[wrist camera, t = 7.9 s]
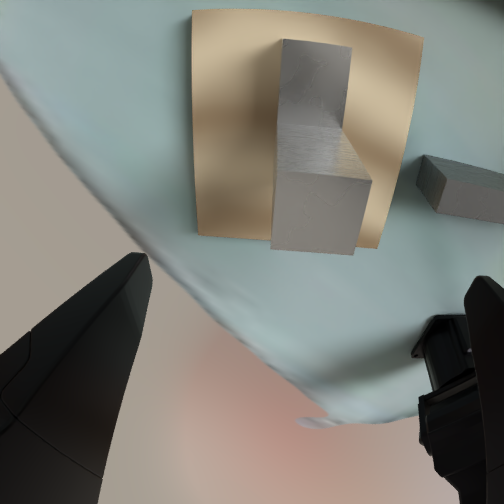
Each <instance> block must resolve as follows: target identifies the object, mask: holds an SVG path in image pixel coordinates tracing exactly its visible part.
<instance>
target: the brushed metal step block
mask: <svg viewBox="0 0 504 504" xmlns="http://www.w3.org/2000/svg"><path fill="white" fill-rule="evenodd" d="M351 55H352V47H346V46H340V45H334V44H327V43H320V42H312V41H303V40H293V39H282V46H281V62H280V78H279V93H278V107H277V122H276V136H275V149H274V164H273V195H272V224H271V249H275V250H288V251H301V252H315V253H328V254H341V255H353V254H354V251H355V247H356V244H357V240H358V236H359V233H360V229H361V225H362V221H363V217H364V214H365V210H366V206H367V202H368V197H369V193H370V189H371V185H372V181H373V180H372V179H371V177H370V175H369V173H368V172H367V170H366V168H365V167H364V165H363V163H362V161H361V160H360V158H359V156H358V155H357V153H356V151H355V150H354V148H353V147H352V145H351V143H350V142H349V140H348V138H347V137H346V135H345V134H344V132H343V131H342V126H343V119H344V112H345V105H346V97H347V90H348V82H349V73H350V64H351Z"/></svg>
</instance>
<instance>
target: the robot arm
mask: <svg viewBox="0 0 504 504" xmlns="http://www.w3.org/2000/svg"><path fill="white" fill-rule="evenodd" d="M152 281H153V280H152V274H151V269H150V265H149V260H148V256H147V255H146V254H145V253H137V252H131V253H129V254H128V255H126V256H125V257H123V258H122V259H121V260H119V261H118V262H117V263H115V264H114V265H113V266H111V267H110V268H109V269H107V270H106V271H105V272H103V273H102V274H100V275H99V276H98V277H97V278H95V279H94V280H93V281H91V282H90V283H89V284H87V285H86V286H85V287H83V288H82V289H81V290H79V291H78V292H77V293H76V294H74V295H73V296H72V297H71V298H69V299H68V300H67V301H65V302H64V303H63V304H62V305H60V306H59V307H58V308H57V309H55V310H54V311H53V312H52V313H50V314H49V315H48V316H47V317H46V318H44V319H43V320H42V321H41V322H39V323H38V324H37V325H36V326H34V327H33V328H32V329H31V331H29V332H27V333H26V334H25V335H24V336H22V337H21V338H20V339H19V340H18V341H17V342H15V343H14V344H13V345H12V346H10V347H9V348H8V349H7V350H6V351H4V352H3V353H2V354H0V504H97V503H98V498H99V494H100V488H101V484H102V480H103V479H102V478H103V475H104V470H105V466H106V461H107V457H108V453H109V449H110V445H111V441H112V437H113V433H114V429H115V425H116V421H117V418H118V414H119V410H120V407H121V403H122V400H123V396H124V392H125V389H126V385H127V382H128V379H129V375H130V372H131V369H132V365H133V362H134V359H135V355H136V353H137V349H138V346H139V343H140V340H141V336H142V331H143V327H144V322H145V317H146V312H147V307H148V302H149V298H150V293H151V289H152ZM464 307H465V313H466V315H438V316H435V317H434V318H433V319H432V321H431V322H430V324H429V326H428V327H427V329H426V331H425V332H424V334H423V335H422V337H421V339H420V340H419V342H418V343H417V345H416V346H415V348H414V349H413V351H412V352H411V357H412V358H424V360H425V364H426V367H427V371H428V375H429V378H430V382H431V386H432V390H433V392H431V393H428V394H426V395H422V396H419V404H418V410H419V422H420V432H419V443H420V444H421V445H423V446H424V447H425V449H426V451H427V453H428V454H429V456H432V457H433V461H434V469H435V471H436V472H437V473H438V474H439V475H440V476H441V477H444V478H445V479H446V480H447V481H448V482H449V483H450V484H451V485H452V486H453V487H454V488H455V489H456V490H457V491H458V494H459V500H460V504H504V288H502V287H501V286H500V285H499V284H498V283H497V282H495V281H494V280H493V279H492V278H490V277H489V276H477V277H476V278H475V279H474V281H473V282H472V284H471V286H470V288H469V289H468V291H467V293H466V295H465V297H464Z"/></svg>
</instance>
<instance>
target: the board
mask: <svg viewBox="0 0 504 504" xmlns="http://www.w3.org/2000/svg"><path fill="white" fill-rule="evenodd" d="M282 39H293V40H303V41H312V42H320V43H327V44H334V45H340V46H346V47H352V55H351V64H350V73H349V82H348V90H347V97H346V105H345V112H344V119H343V126H342V131H343V132H344V134H345V135H346V137H347V138H348V140H349V142H350V143H351V145H352V147H353V148H354V150H355V151H356V153H357V155H358V156H359V158H360V160H361V161H362V163H363V165H364V167H365V168H366V170H367V172H368V173H369V175H370V177H371V179H372V180H373V181H372V185H371V189H370V193H369V197H368V202H367V206H366V210H365V214H364V217H363V221H362V225H361V229H360V233H359V236H358V240H357V244H356V247H362V248H374V249H377V247H378V244H379V241H380V238H381V235H382V231H383V228H384V225H385V222H386V218H387V215H388V211H389V208H390V204H391V201H392V197H393V194H394V190H395V186H396V182H397V178H398V175H399V171H400V167H401V162H402V158H403V154H404V150H405V145H406V141H407V136H408V132H409V127H410V122H411V117H412V112H413V107H414V101H415V96H416V90H417V84H418V78H419V71H420V64H421V57H422V50H423V41H424V38H423V37H420V36H417V35H414V34H410V33H407V32H403V31H399V30H396V29H392V28H388V27H384V26H379V25H375V24H371V23H366V22H361V21H356V20H351V19H345V18H339V17H333V16H326V15H319V14H311V13H302V12H292V11H279V10H262V9H207V10H192V116H193V147H194V171H195V190H196V208H197V223H198V235H201V236H216V237H231V238H245V239H259V240H271V224H272V195H273V164H274V149H275V136H276V122H277V107H278V93H279V78H280V62H281V46H282Z"/></svg>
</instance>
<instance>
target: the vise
mask: <svg viewBox="0 0 504 504" xmlns="http://www.w3.org/2000/svg"><path fill="white" fill-rule="evenodd" d="M416 186H417V187H418V188H419V190H420V191H421V192H422V194H423V195H424V196H425V198H426V199H427V201H428V202H429V203H430V205H431V206H432V208H433V209H434V210H435V212H436V213H441V214H447V215H454V216H460V217H466V218H472V219H478V220H484V221H490V222H495V223H501V224H504V174H501V173H497V172H494V171H490V170H487V169H483V168H479V167H475V166H472V165H468V164H464V163H460V162H455V161H451V160H447V159H443V158H438V157H434V156H429V155H424V157H423V161H422V165H421V168H420V172H419V176H418V179H417V183H416Z"/></svg>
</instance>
